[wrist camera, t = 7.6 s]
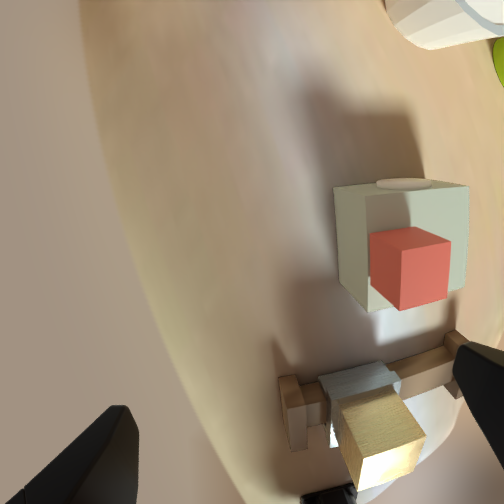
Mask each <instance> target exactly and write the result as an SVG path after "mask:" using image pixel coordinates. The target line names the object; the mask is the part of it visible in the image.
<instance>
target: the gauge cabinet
mask: <svg viewBox="0 0 504 504" xmlns="http://www.w3.org/2000/svg"><path fill="white" fill-rule="evenodd" d="M333 193H334V204H335V217H336V231H337V247H338V266H339V282H340V283H341V284H342V286H343V287H344V288H345V289H346V290H347V291H348V292H349V293H350V294H351V295H352V296H353V297H354V299H355V300H356V301H357V302H358V303H359V304H360V305H361V306H362V307H363V308H364V309H365V311H366V312H367V313H369V312H373V311H378V310H382V309H386V308H390V307H394V306H393V305H392V304H391V303H390V302H389V301H388V300H387V299H385V298H384V297H383V296H382V295H381V294H380V293H379V292H378V291H377V290H375V289H374V288H373V287H372V286H371V285H370V234H369V233H375V232H381V231H388V230H394V229H401V228H407V227H414V226H415V227H418V228H420V229H423V230H425V231H428V232H430V233H433V234H435V235H437V236H440V237H442V238H444V239H447V240H449V241H451V256H450V271H449V282H448V292H450V291H453V290H456V289H460V288H463V287H464V286H465V277H466V266H467V254H468V237H469V186H465V185H460V184H454V183H449V182H443V181H437V180H430V179H421V178H392V179H383V180H378V181H376V183H370V184H359V185H350V186H340V187H333Z"/></svg>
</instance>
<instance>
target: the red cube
mask: <svg viewBox="0 0 504 504" xmlns="http://www.w3.org/2000/svg"><path fill="white" fill-rule="evenodd" d="M369 234H370V285H371V286H372V287H373V288H374V289H375V290H377V291H378V292H379V293H380V294H381V295H382V296H383V297H384V298H385V299H387V300H388V301H389V302H390V303H391V304H392V305H393V306H394V307H395V308H396V309H398V310H399V311H402V310H406V309H409V308H413V307H417V306H420V305H424V304H428V303H431V302H435V301H438V300H442V299H445V298H447V292H448V282H449V271H450V256H451V241H449V240H447V239H444V238H442V237H440V236H437V235H435V234H433V233H430V232H428V231H425V230H423V229H420V228H418V227H415V226H414V227H407V228H401V229H394V230H388V231H381V232H375V233H369Z"/></svg>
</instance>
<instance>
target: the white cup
mask: <svg viewBox="0 0 504 504" xmlns="http://www.w3.org/2000/svg"><path fill="white" fill-rule="evenodd" d="M385 6H386V12H387V14H388V16H389V18H390V19H391V21H392V23H393V25H394V26H395V28H396V29H397V30H398V31H399V32H400V33H401V34H402V35H403V36H404V38H406V39H407V40H409V41H410V42H412V43H413V44H415V45H416V46H418V47H421V48H425V49H428V50H433V49H440V48H444V47H448V46H453V45H457V44H462V43H467V42H472V41H477V40H483V39H489V38H495V37H501V36H504V0H385Z"/></svg>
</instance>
